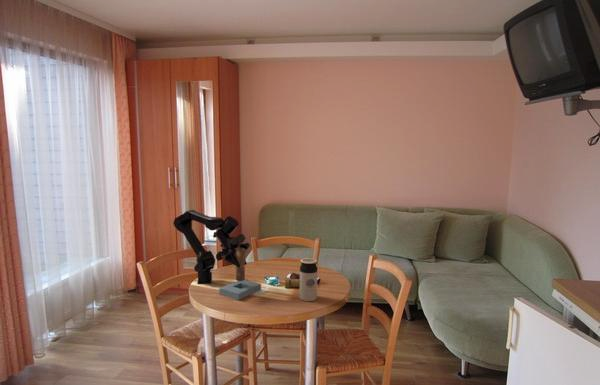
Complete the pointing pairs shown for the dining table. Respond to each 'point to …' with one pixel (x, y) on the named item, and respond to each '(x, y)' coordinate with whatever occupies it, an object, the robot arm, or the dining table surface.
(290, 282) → the gavel
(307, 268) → the travel mug
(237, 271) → the peg
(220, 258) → the robot arm
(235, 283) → the socket board
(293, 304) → the dining table surface
